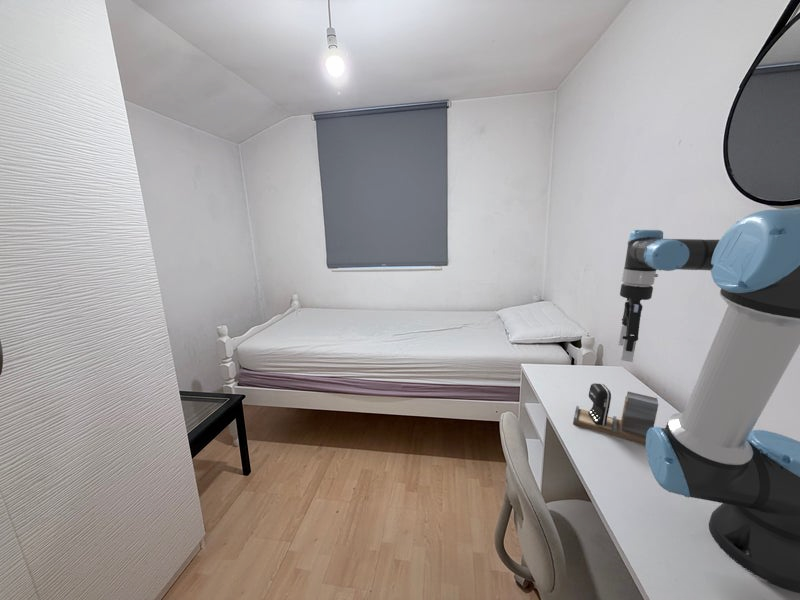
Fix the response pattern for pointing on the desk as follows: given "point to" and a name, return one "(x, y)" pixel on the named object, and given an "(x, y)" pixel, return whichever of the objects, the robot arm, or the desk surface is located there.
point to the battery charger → (599, 403)
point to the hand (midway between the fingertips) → (624, 352)
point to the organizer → (625, 419)
